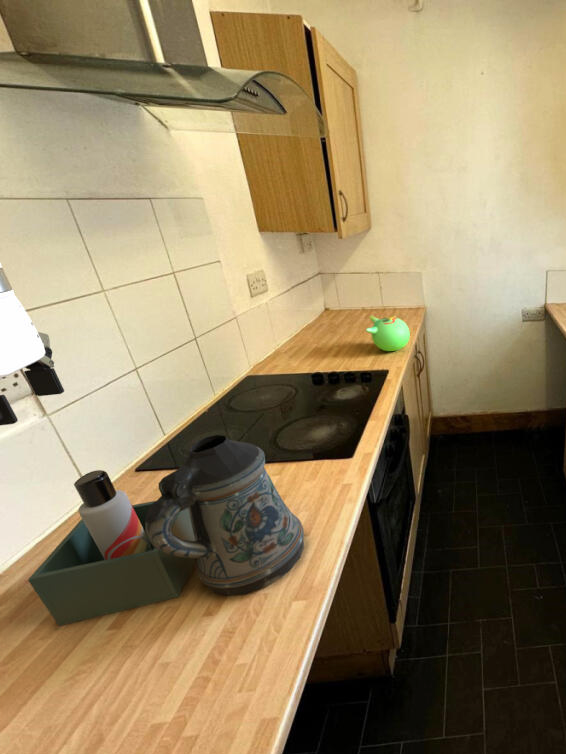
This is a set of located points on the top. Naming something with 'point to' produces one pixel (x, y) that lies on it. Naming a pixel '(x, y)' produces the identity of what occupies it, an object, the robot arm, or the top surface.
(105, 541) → the lotion bottle
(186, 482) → the beer stein
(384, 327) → the green space hopper
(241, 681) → the top surface
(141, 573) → the bin
